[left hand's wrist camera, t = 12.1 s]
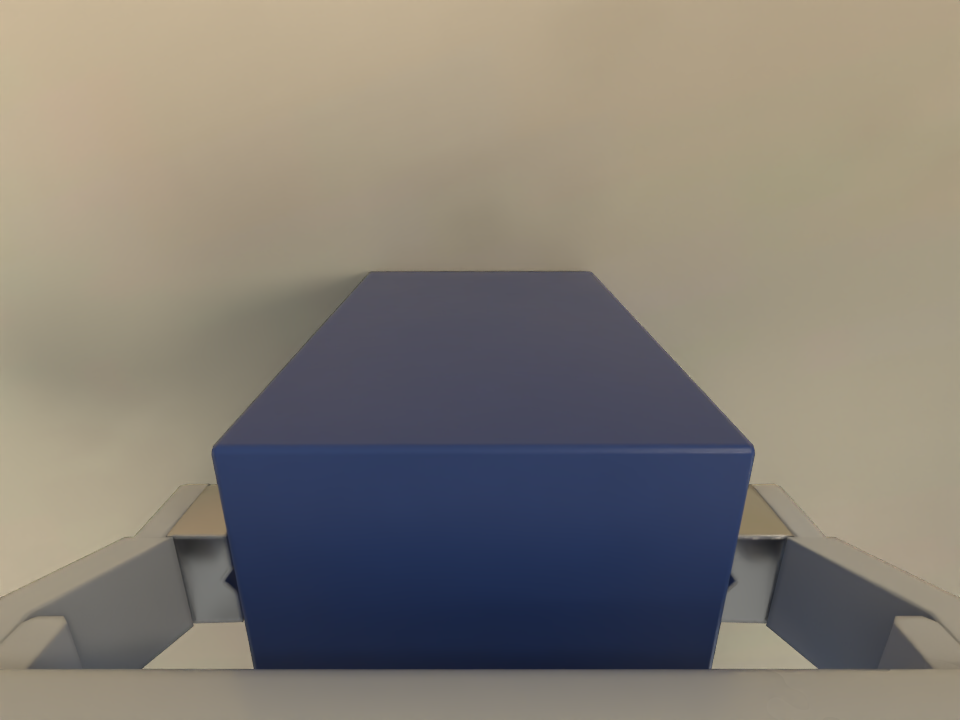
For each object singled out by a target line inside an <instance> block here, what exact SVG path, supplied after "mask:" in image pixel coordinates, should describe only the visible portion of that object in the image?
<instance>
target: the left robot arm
mask: <svg viewBox="0 0 960 720" xmlns="http://www.w3.org/2000/svg"><path fill="white" fill-rule="evenodd" d="M243 620H244V616H243V611H242V606H241V600H240V595H239V590H238V585H237V580H236V575H235V570H234V565H233V560H232V555H231V550H230V545H229V540H228V535H227V530H226V525H225V520H224V515H223V510H222V505H221V499H220V494H219V489H218V484H212V485H211V484H186V485H182V486H180V487H179V488H178V489H177V490H176V491H175V492H174V493H173V494H172V495H171V497H170V498H169V499H168V500H167V501H166V502H165V503H164V504H163V505H162V506H161V508H160V509H159V510H158V511H157V512H156V513H155V514H154V515H153V516H152V517H151V519H150V520H149V521H148V522H147V523H146V524H145V525H144V526H143V527H142V529H141V530H140V531H139V532H138V533H137V534H136V535H135V536H134V537H124V538H122V539H120V540H118V541H116V542H114V543H112V544H110V545H108V546H106V547H104V548H102V549H100V550H98V551H96V552H94V553H91V554H89V555H87V556H85V557H83V558H81V559H79V560H77V561H75V562H73V563H71V564H69V565H67V566H65V567H63V568H61V569H59V570H56V571H54V572H52V573H50V574H48V575H46V576H44V577H42V578H40V579H38V580H36V581H34V582H32V583H30V584H28V585H26V586H24V587H21V588H19V589H17V590H15V591H13V592H11V593H9V594H7V595H5V596H3V597H1V598H0V720H960V598H959V597H957V596H955V595H953V594H951V593H948V592H946V591H944V590H942V589H940V588H938V587H936V586H934V585H932V584H930V583H928V582H926V581H924V580H922V579H920V578H918V577H916V576H914V575H912V574H909V573H907V572H905V571H903V570H901V569H899V568H897V567H895V566H893V565H891V564H889V563H887V562H885V561H883V560H881V559H879V558H877V557H875V556H873V555H871V554H868V553H866V552H864V551H862V550H860V549H858V548H856V547H854V546H852V545H850V544H848V543H846V542H844V541H842V540H840V539H838V538H836V537H826V536H825V535H824V534H823V533H822V532H821V531H820V530H819V529H818V527H817V526H816V525H815V524H814V523H813V522H812V521H811V520H810V519H809V517H808V516H807V515H806V514H805V513H804V512H803V511H802V510H801V509H800V508H799V506H798V505H797V504H796V503H795V502H794V501H793V500H792V499H791V498H790V497H789V495H788V494H787V493H786V492H785V491H784V490H783V489H782V488H781V487H780V486H778V485H776V484H749V485H748V490H747V495H746V500H745V505H744V510H743V515H742V520H741V525H740V530H739V535H738V540H737V545H736V550H735V555H734V560H733V565H732V570H731V574H730V579H729V584H728V589H727V594H726V599H725V604H724V609H723V614H722V619H721V622H739V623H767V624H766V626H767V627H769V628H770V629H771V630H772V631H773V632H775V633H776V634H777V635H778V636H779V637H781V638H782V639H783V640H784V641H786V642H787V643H788V644H789V645H790V646H792V647H793V648H794V649H795V650H796V651H798V652H799V653H800V654H801V655H802V656H804V657H805V658H806V659H807V660H809V661H810V662H811V663H812V664H813V665H815V666H816V667H817V668H818V669H142V668H143V667H144V666H146V665H147V664H148V663H149V662H150V661H152V660H153V659H154V658H155V657H157V656H158V655H159V654H160V653H161V652H163V651H164V650H165V649H166V648H167V647H169V646H170V645H171V644H172V643H173V642H175V641H176V640H177V639H178V638H180V637H181V636H182V635H183V634H184V633H186V632H187V631H188V630H189V629H190V628H192V627H193V626H194V624H193V623H220V622H243Z"/></svg>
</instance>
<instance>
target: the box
mask: <svg viewBox="0 0 960 720" xmlns="http://www.w3.org/2000/svg"><path fill="white" fill-rule="evenodd" d="M754 456H755V450H754V447H753V444H752V443H751V442H750V441H749V440H748V439H747V438H746V437H745V436H744V435H743V434H742V433H741V432H740V431H739V429H738V428H737V427H736V426H735V425H734V424H733V423H732V422H731V421H730V420H729V419H728V418H727V417H726V416H725V414H724V413H723V412H722V411H721V410H720V409H719V408H718V407H717V406H716V405H715V404H714V403H713V402H712V401H711V399H710V398H709V397H708V396H707V395H706V394H705V393H704V392H703V391H702V390H701V389H700V388H699V387H698V386H697V384H696V383H695V382H694V381H693V380H692V379H691V378H690V377H689V376H688V375H687V374H686V373H685V372H684V371H683V370H682V368H681V367H680V366H679V365H678V364H677V363H676V362H675V361H674V360H673V359H672V358H671V357H670V356H669V355H668V353H667V352H666V351H665V350H664V349H663V348H662V347H661V346H660V345H659V344H658V343H657V342H656V341H655V340H654V338H653V337H652V336H651V335H650V334H649V333H648V332H647V331H646V330H645V329H644V328H643V327H642V326H641V325H640V323H639V322H638V321H637V320H636V319H635V318H634V317H633V316H632V315H631V314H630V313H629V312H628V311H627V310H626V308H625V307H624V306H623V305H622V304H621V303H620V302H619V301H618V300H617V299H616V298H615V297H614V296H613V295H612V293H611V292H610V291H609V290H608V289H607V288H606V287H605V286H604V285H603V284H602V283H601V282H600V281H599V280H598V278H597V277H596V276H595V275H594V274H593V273H592V272H370V273H369V274H368V275H367V276H366V277H365V278H364V279H363V280H362V281H361V282H360V284H359V285H358V286H357V287H356V288H355V289H354V290H353V291H352V292H351V294H350V295H349V296H348V297H347V298H346V299H345V300H344V301H343V302H342V304H341V305H340V306H339V307H338V308H337V309H336V310H335V311H334V312H333V314H332V315H331V316H330V317H329V318H328V319H327V320H326V321H325V322H324V324H323V325H322V326H321V327H320V328H319V329H318V330H317V331H316V332H315V334H314V335H313V336H312V337H311V338H310V339H309V340H308V341H307V342H306V344H305V345H304V346H303V347H302V348H301V349H300V350H299V351H298V352H297V353H296V355H295V356H294V357H293V358H292V359H291V360H290V361H289V362H288V363H287V365H286V366H285V367H284V368H283V369H282V370H281V371H280V372H279V373H278V375H277V376H276V377H275V378H274V379H273V380H272V381H271V382H270V383H269V385H268V386H267V387H266V388H265V389H264V390H263V391H262V392H261V393H260V395H259V396H258V397H257V398H256V399H255V400H254V401H253V402H252V403H251V405H250V406H249V407H248V408H247V409H246V410H245V411H244V412H243V413H242V415H241V416H240V417H239V418H238V419H237V420H236V421H235V422H234V423H233V424H232V426H231V427H230V428H229V429H228V430H227V431H226V432H225V433H224V434H223V436H222V437H221V438H220V439H219V440H218V441H217V442H216V443H215V444H214V446H213V449H212V459H213V464H214V469H215V474H216V479H217V484H218V489H219V494H220V499H221V505H222V510H223V515H224V520H225V525H226V530H227V535H228V540H229V545H230V550H231V555H232V560H233V565H234V570H235V575H236V580H237V585H238V590H239V595H240V600H241V606H242V611H243V616H244V621H245V626H246V631H247V636H248V641H249V646H250V651H251V656H252V661H253V666H254V669H711V668H712V663H713V658H714V654H715V649H716V644H717V639H718V634H719V629H720V624H721V619H722V614H723V609H724V604H725V599H726V594H727V589H728V584H729V579H730V574H731V570H732V565H733V560H734V555H735V550H736V545H737V540H738V535H739V530H740V525H741V520H742V515H743V510H744V505H745V500H746V495H747V490H748V485H749V481H750V476H751V471H752V466H753V461H754Z"/></svg>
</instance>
